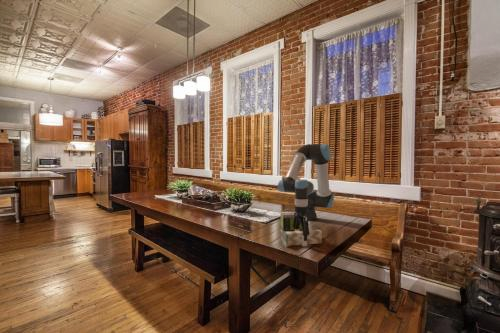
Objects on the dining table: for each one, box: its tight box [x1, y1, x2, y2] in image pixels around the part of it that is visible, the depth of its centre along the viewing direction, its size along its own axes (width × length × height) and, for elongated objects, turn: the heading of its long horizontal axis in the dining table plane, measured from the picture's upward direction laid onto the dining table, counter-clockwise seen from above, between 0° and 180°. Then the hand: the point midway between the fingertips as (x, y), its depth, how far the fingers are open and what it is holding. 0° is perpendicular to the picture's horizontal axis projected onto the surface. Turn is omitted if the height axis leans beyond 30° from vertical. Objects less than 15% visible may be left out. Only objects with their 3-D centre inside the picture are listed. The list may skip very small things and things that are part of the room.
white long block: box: [280, 229, 323, 248], centre depth 148 cm, size 24×8×7 cm, turn 103°
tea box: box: [280, 211, 306, 232], centre depth 163 cm, size 15×10×15 cm, turn 92°
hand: (300, 242), depth 148 cm, fingers open, 10 cm apart
